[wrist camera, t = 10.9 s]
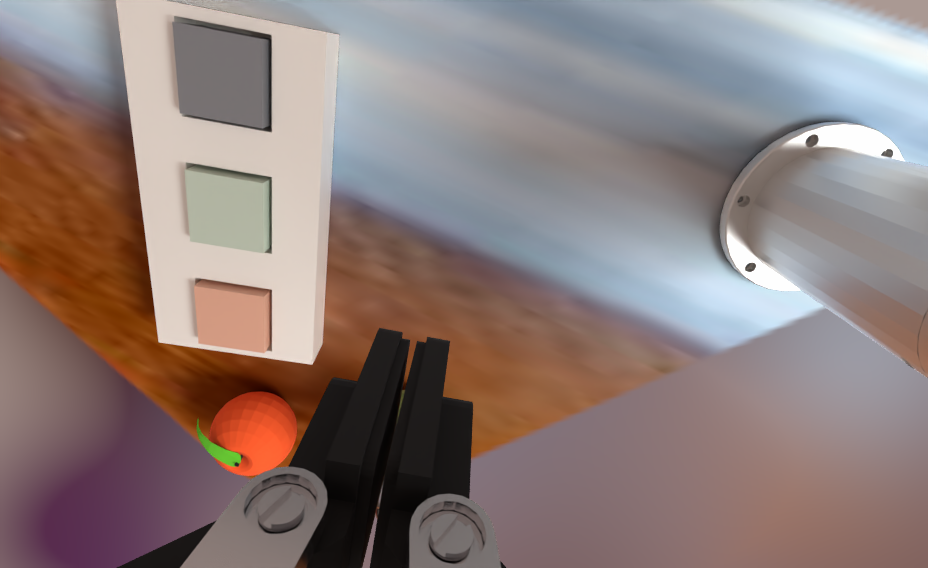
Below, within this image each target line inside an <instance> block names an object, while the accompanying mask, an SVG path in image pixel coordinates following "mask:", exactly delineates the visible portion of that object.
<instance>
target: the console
mask: <svg viewBox="0 0 928 568" xmlns="http://www.w3.org/2000/svg"><path fill="white" fill-rule="evenodd" d="M116 7H117V14H118V22H119V30H120V38H121V46H122V54H123V62H124V70H125V78H126V86H127V94H128V102H129V110H130V118H131V126H132V134H133V142H134V150H135V158H136V166H137V174H138V181H139V189H140V197H141V205H142V213H143V221H144V229H145V237H146V245H147V253H148V261H149V269H150V277H151V285H152V293H153V301H154V309H155V317H156V325H157V333H158V341H159V342H160V343H167V344H174V345H181V346H188V347H195V348H201V349H208V350H215V351H222V352H229V353H236V354H242V355H249V356H256V357H263V358H270V359H277V360H283V361H290V362H297V363H304V364H311V365H312V364H313V362H314V360H315V358H316V356H317V354H318V352H319V350H320V348H321V346H322V344H323V326H324V308H325V290H326V272H327V254H328V236H329V218H330V199H331V181H332V163H333V145H334V127H335V109H336V91H337V73H338V54H339V36H340V35H339V34H334V33H329V32H324V31H319V30H314V29H308V28H303V27H298V26H293V25H288V24H283V23H278V22H273V21H268V20H263V19H258V18H253V17H248V16H243V15H238V14H233V13H228V12H223V11H218V10H213V9H207V8H202V7H197V6H192V5H187V4H182V3H177V2H172V1H167V0H116ZM172 22H180V23H188V24H196V25H202V26H207V27H212V28H218V29H223V30H228V31H233V32H238V33H243V34H248V35H253V36H259V37H264V38H269V39H272V125H271V126H268V127H265V128H258V127H252V126H247V125H241V124H236V123H230V122H225V121H219V120H213V119H208V118H202V117H197V116H191V115H186V114H180V110H179V98H178V86H177V74H176V61H175V49H174V37H173V25H172ZM198 164H199V165H205V166H211V167H216V168H222V169H228V170H234V171H239V172H245V173H251V174H257V175H262V176H268V177H272V246H271V247H270V248H269V249H268V250H267V251H266V252H265V253H258V252H252V251H246V250H240V249H234V248H228V247H221V246H215V245H209V244H203V243H197V242H191V241H190V233H189V220H188V208H187V196H186V184H185V171H184V170H185V169H188V168H190V167H193V166H195V165H198ZM202 279H207V280H214V281H220V282H227V283H233V284H239V285H246V286H252V287H258V288H265V289H271V290H272V343H271V344H270V346H269V347H268V349H267V350H266V352H265V353H259V352H253V351H246V350H239V349H232V348H225V347H219V346H212V345H205V344H199V343H198V330H197V318H196V306H195V294H194V286H195V285H196V284H197V283H198V282H199V281H201V280H202Z"/></svg>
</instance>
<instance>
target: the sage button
mask: <svg viewBox="0 0 928 568" xmlns="http://www.w3.org/2000/svg"><path fill="white" fill-rule="evenodd" d="M184 171H185V184H186V196H187V208H188V220H189V233H190V241H191V242H197V243H203V244H209V245H215V246H221V247H228V248H234V249H240V250H246V251H252V252H258V253H265V252H266V251H267V250H268V249H269V248H270V247H271V246H272V177H268V176H262V175H257V174H251V173H245V172H239V171H234V170H228V169H222V168H216V167H211V166H205V165H199V164H198V165H195V166H193V167H190V168H188V169H185V170H184Z"/></svg>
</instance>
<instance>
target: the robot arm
mask: <svg viewBox="0 0 928 568" xmlns="http://www.w3.org/2000/svg"><path fill="white" fill-rule="evenodd" d="M739 198H740V199H739ZM738 199H739V200H738ZM720 238H721V245H722V248H723V250H724V253H725V255H726V258H727V259H728V260H729V262H730V263H731V265H732V266H733V268H735V269H736V270H737V271H738V272H739V273H740V274H741V275H743V276H744V277H745V278H747V279H748V280H750V281H751V282H753V283H754V284H757V285H759V286H762V287H764V288H767V289H773V290H779V291H799V290H801V291H803V292H804V293H806V294H807V295H808V296H810V297H811V298H813V299H814V300H816V301H817V302H819V303H820V304H821V305H823V306H824V307H826V308H827V309H829V310H830V311H832V312H833V313H834V314H836V315H837V316H839V317H840V318H842V319H843V320H844V321H846V322H847V323H849V324H850V325H852V326H853V327H854V328H856V329H858V330H859V331H860V332H862V333H863V334H864V335H866V336H868V337H869V338H870V339H872V340H873V341H875V342H876V343H878V344H879V345H880V346H882V347H883V348H885V349H886V350H887V351H889V352H890V353H892V354H893V355H895V356H896V357H898V358H899V359H900V360H902V361H903V362H905V363H906V364H908V365H909V366H910V367H912V368H913V369H915V370H916V371H918V372H919V373H921V374H923V375H924V376H925V377H927V378H928V167H927V166H923V165H919V164H915V163H910V162H906V161H904V159H903V156H902V154H901V152H900V150H899V148H898V147H897V146H896V145H895V144H894V143H893V142H892V140H891V139H890V138H889V137H887V136H886V135H884V134H882V133H881V132H879V131H878V130H876V129H873V128H870V127H867V126H864V125H861V124H854V123H848V122H824V123H819V124H814V125H809V126H806V127H803V128H801V129H798V130H795V131H793V132H790V133H788V134H786V135H785V136H783V137H781V138H779V139H778V140H776V141H774V142H772V143H771V144H770V145H769V146H767V147H766V148H765V149H764V150H762V151H761V152H760V153H758V154H757V155H756V156H755V157H754V158H753V159H752V160H751V161H750V163H749V164H748V165H747V166H746V167H745V168H744V169H743V170H742V172H741V173H740V175H739V176H738V177H737V179H736V180H735V182H734V183H733V185H732V187H731V189H730V191H729V193H728V195H727V197H726V199H725V202H724V206H723V210H722V213H721V219H720ZM449 344H450V341H447V340H442V339H436V338H431V337H427V341H426V343H424V342H419V341H417V344H416V348H415V352H414V356H413V360H412V364H411V368H410V372H409V376H408V380H407V384H406V388H405V392H404V396H403V400H402V404H401V408H400V412H399V407H400V401H401V394H402V388H403V382H404V376H405V370H406V364H407V358H408V351H409V345H410V340H408V339H402V332H398V331H393V330H387V329H382V328H379V330H378V332H377V334H376V337H375V339H374V342H373V344H372V347H371V349H370V352H369V354H368V357H367V359H366V362H365V364H364V367H363V369H362V372H361V374H360V377H359V379H358V382H357V381H352V380H346V379H341V378H335V377H334V378H332V380H331V381H330V383H329V385H328V387H327V389H326V391H325V393H324V395H323V397H322V399H321V401H320V403H319V405H318V407H317V409H316V411H315V414H314V416H313V418H312V420H311V422H310V424H309V426H308V428H307V430H306V432H305V434H304V436H303V438H302V440H301V442H300V444H299V446H298V448H297V450H296V452H295V454H294V456H293V458H292V461H291V463H290V465H289V467H280V468H275V469H272V470H269V471H265V472H263V473H261V474H260V475H258V476H256V477H254V478H253V479H251V480H250V481H249V482H248V483H247V484H246V485H245V486H244V487H243V488H242V489H241V490H240V491H239V493H238V494H237V495H236V497H235V498H234V499H233V500H232V502H231V503H230V504H229V506H228V507H227V508H226V509H225V511H224V512H223V513H222V515H221V516H220V517H219V519H218V520H217V521H215V522H213V523H210V524H208V525H206V526H204V527H202V528H200V529H198V530H196V531H194V532H192V533H189V534H187V535H185V536H183V537H181V538H179V539H177V540H175V541H172V542H170V543H168V544H166V545H164V546H162V547H160V548H158V549H156V550H153V551H151V552H149V553H147V554H145V555H143V556H141V557H139V558H136V559H135V560H132V561H130V562H128V563H126V564H124V565H122V566H120V567H117V568H362V566H363V562H364V558H365V554H366V550H367V546H368V542H369V537H370V533H371V529H372V525H373V521H374V517H375V513H376V509H377V505H378V501H379V497H380V493H381V489H382V494H381V500H380V506H379V513H378V519H377V525H376V532H375V538H374V545H373V551H372V557H371V563H370V568H506V567H505V566H504V565H503V563H502V562H501V561H500V558H499V553H498V547H497V541H496V535H495V531H494V528H493V525H492V522H491V520H490V518H489V516H488V515H487V514H486V512H485V511H484V509H482V508H481V507H480V506H479V505H478V504H476V503H475V502H474V501H472V500H470V499H469V492H470V468H471V443H472V419H473V403H472V402H469V401H463V400H458V399H452V398H447V397H443V390H444V382H445V375H446V367H447V359H448V352H449ZM398 413H399V416H398ZM397 419H398V420H397ZM382 485H383V487H382Z"/></svg>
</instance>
